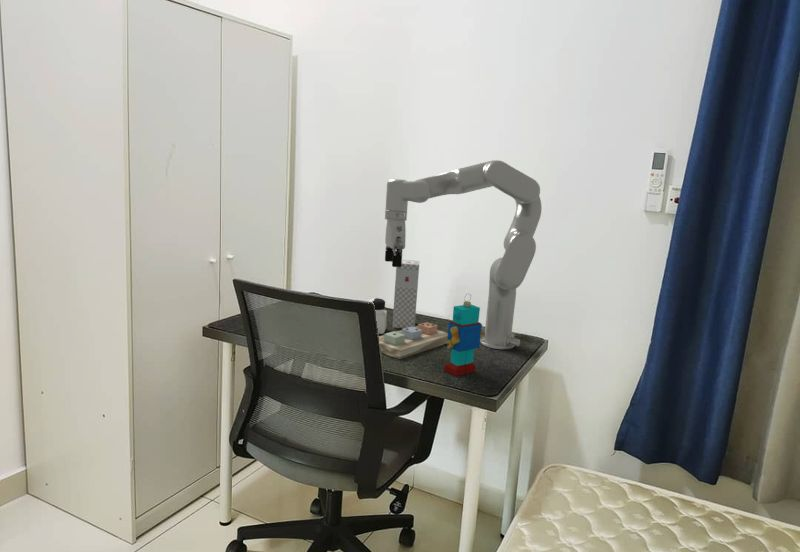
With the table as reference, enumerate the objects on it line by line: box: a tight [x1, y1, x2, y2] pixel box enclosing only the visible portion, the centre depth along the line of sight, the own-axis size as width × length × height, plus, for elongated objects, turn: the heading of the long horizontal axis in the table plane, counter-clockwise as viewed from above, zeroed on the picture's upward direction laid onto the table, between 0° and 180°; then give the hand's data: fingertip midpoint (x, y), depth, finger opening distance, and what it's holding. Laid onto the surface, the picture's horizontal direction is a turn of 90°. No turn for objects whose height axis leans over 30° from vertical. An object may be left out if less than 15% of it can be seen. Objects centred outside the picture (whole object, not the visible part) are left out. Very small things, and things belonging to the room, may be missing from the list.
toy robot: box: [443, 293, 484, 377], centre depth 172 cm, size 12×6×25 cm, turn 127°
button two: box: [401, 327, 422, 340], centre depth 196 cm, size 5×5×3 cm
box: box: [392, 259, 420, 329], centre depth 217 cm, size 8×8×25 cm
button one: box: [383, 330, 405, 346], centre depth 189 cm, size 5×5×3 cm
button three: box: [417, 321, 438, 335], centre depth 203 cm, size 5×5×3 cm
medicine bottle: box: [368, 297, 388, 335], centre depth 209 cm, size 7×7×12 cm
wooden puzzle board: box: [378, 325, 448, 360], centre depth 196 cm, size 14×28×3 cm, turn 139°
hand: (392, 264), depth 199 cm, fingers open, 9 cm apart
